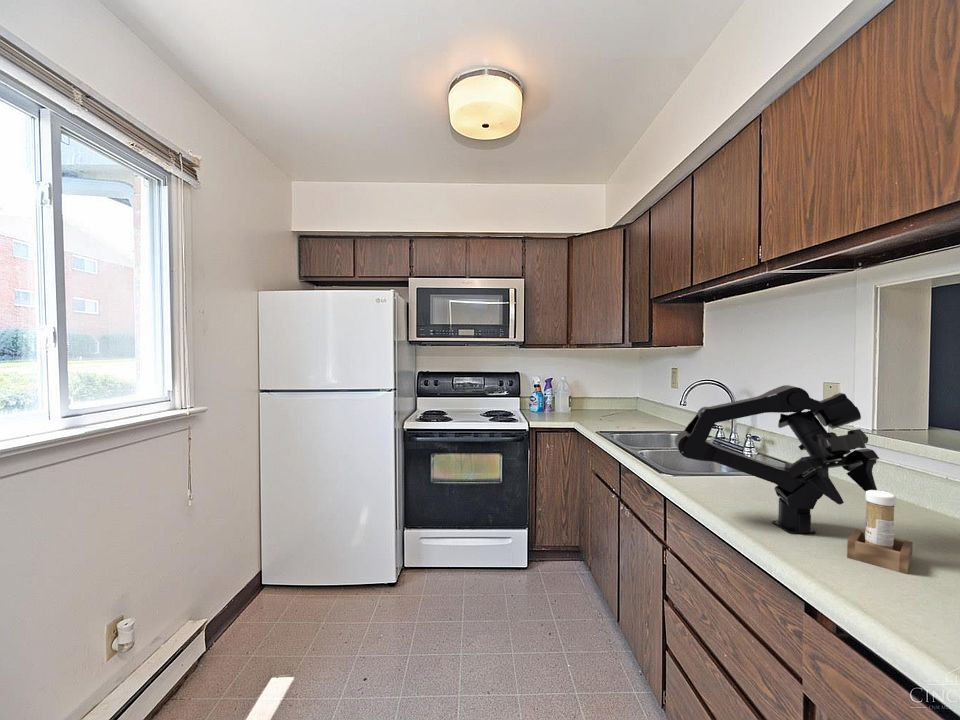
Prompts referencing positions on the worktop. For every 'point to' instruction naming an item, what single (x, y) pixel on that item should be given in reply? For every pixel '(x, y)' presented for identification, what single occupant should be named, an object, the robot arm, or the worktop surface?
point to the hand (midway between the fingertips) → (859, 500)
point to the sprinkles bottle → (880, 518)
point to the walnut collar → (880, 552)
